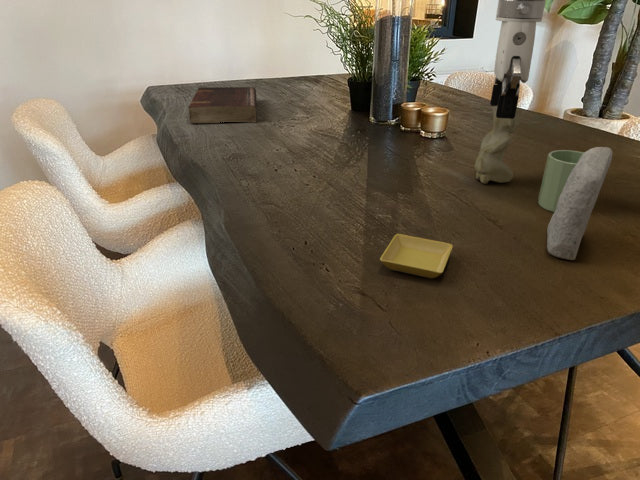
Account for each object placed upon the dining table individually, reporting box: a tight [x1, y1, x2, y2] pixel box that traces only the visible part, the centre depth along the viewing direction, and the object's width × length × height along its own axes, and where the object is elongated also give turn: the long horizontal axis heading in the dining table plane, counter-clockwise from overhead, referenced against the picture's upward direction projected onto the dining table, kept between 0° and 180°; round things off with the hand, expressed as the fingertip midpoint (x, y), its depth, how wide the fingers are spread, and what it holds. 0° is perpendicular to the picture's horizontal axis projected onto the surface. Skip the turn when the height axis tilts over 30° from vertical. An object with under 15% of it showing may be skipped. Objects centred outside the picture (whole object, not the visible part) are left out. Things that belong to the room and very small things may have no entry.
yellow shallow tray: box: [379, 233, 454, 279], centre depth 69 cm, size 9×9×2 cm
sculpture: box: [474, 105, 524, 185], centre depth 95 cm, size 6×7×15 cm
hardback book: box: [188, 86, 258, 124], centre depth 151 cm, size 29×19×5 cm, turn 7°
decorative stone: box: [546, 146, 614, 261], centre depth 71 cm, size 11×6×15 cm, turn 150°
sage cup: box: [537, 149, 585, 213], centre depth 86 cm, size 8×8×9 cm
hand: (501, 111), depth 92 cm, fingers open, 9 cm apart
